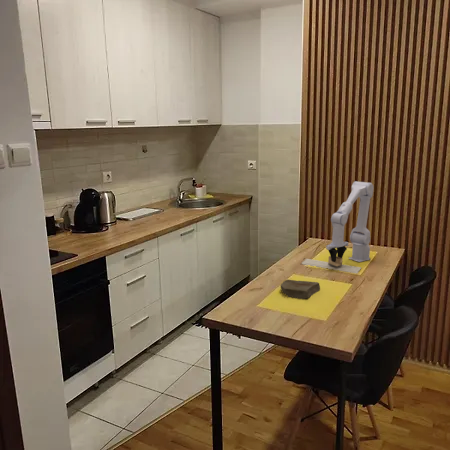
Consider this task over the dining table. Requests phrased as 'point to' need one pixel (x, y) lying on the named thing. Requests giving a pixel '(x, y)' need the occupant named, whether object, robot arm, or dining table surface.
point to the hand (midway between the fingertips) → (336, 260)
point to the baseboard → (325, 265)
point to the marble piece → (299, 288)
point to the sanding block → (335, 264)
